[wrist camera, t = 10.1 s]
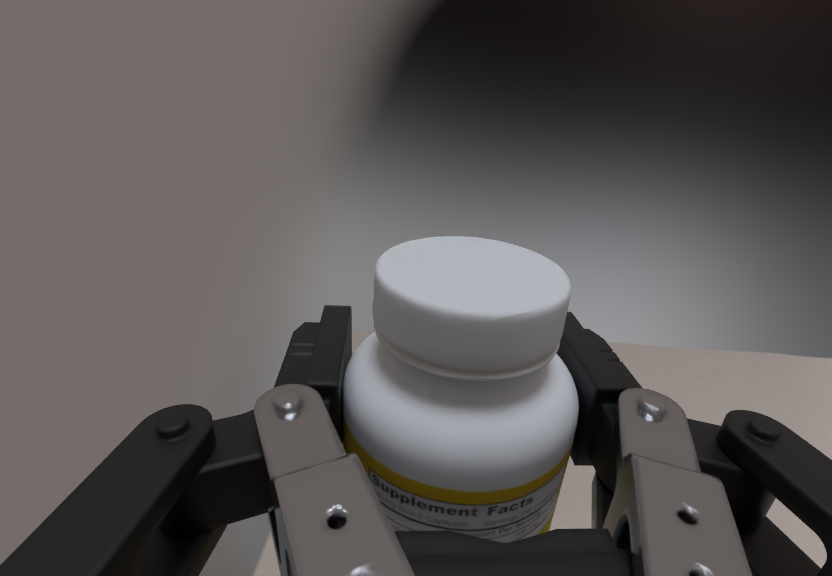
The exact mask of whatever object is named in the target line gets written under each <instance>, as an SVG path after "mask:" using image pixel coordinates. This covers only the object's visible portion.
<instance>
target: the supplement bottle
mask: <svg viewBox="0 0 832 576" xmlns="http://www.w3.org/2000/svg"><path fill="white" fill-rule="evenodd" d="M374 277H375V279H374V302H373V318H374V328H375V331H374V332H373V333H372V334H370V335H369V336H368V337H367V338H366V339H365V340H364V341H363V342H362V343H361V344H360V345H359V346H358V348H357V349H356V350H355V352H354V353H353V355H352V357H351V359H350V361H349V363H348V366H347V368H346V371H345V376H344V381H343V399H342V421H343V447H344V450H345V452H346V454H351V453H355V454H356V455H357V456H358V457H359V459H360V461H361V463H362V465H363V467H364V469H365V471H366V473H367V476H368V478H369V480H370V482H371V484H372V486H373V488H374V490H375V492H376V495H377V497H378V499H379V501H380V503H381V505H382V507H383V509H384V511H385V514H386V516H387V518H388V520H389V522H390V524H391V526H392V528H393V530H394V533H395V531H444V530H449V531H453V532H458V533H462V534H467V535H471V536H475V537H480V538H484V539H489V540H493V541H497V542H503V543H510V542H514V541H518V540H521V539H524V538H528V537H531V536H535V535H538V534H542V533H545V532H549V529H550V525H551V521H552V518H553V513H554V510H555V507H556V503H557V499H558V496H559V492H560V488H561V485H562V481H563V477H564V474H565V470H566V467H567V463H568V460H569V456H570V453H571V448H572V444H573V440H574V434H575V430H576V425H577V420H578V411H579V402H578V394H577V390H576V387H575V383H574V381H573V378H572V375H571V374H570V372H569V370H568V368H567V367H566V365H565V364H564V362H563V361H562V360H561V358H560V357H559V356H558V355H557V354H556V353H557V351H558V349H559V345H560V340H561V337H562V334H563V329H564V324H565V320H566V315H567V310H568V305H569V300H570V295H571V285H570V281H569V278H568V277H567V275H566V274H565V272H564V271H563V270H562V269H561V268H560V267H559V266H558V265H557V264H555V263H554V262H553V261H551V260H549V259H548V258H546V257H544V256H542V255H540V254H538V253H536V252H534V251H531V250H529V249H525V248H523V247H520V246H516V245H512V244H509V243H505V242H501V241H496V240H491V239H485V238H476V237H459V236H448V237H447V236H446V237H430V238H423V239H418V240H412V241H409V242H405V243H402V244H399V245H397V246H394V247H392V248H390V249H389V250H388V251H386V252H385V253H384V254H382V255H381V256H380V258H379V259H378V261H377V263H376V266H375V276H374Z"/></svg>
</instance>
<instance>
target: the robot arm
mask: <svg viewBox="0 0 832 576" xmlns="http://www.w3.org/2000/svg"><path fill="white" fill-rule="evenodd" d="M351 313H352V312H351V306H332V305H331V306H330V305H325V306H324V309H323V314H322V317H321V321H320V323H312V322H304V323H303V324H302V325H301V326H300V327H299V328H298V329H296V330H295V331H294V332H293V335H292V338H291V340H290V343H289V346H288V349H287V352H286V356H285V357H284V361H283V363H282V366H281V369H280V372H279V374H278V377H277V380H276V383H275V386H274V388H272V389H270V390H268V391H267V392H265V393H264V394H262V395H261V396H260V397H259V399H258V400H257V401H256V403H255V406H254V410H251V411H249V412H247V413H244V414H241V415H237V416H233V417H228V418H223V419H219V420H214V421H212V416H211V414H210V412H209V411H208V410H207V409H205V408H203V407H201V406H197V405H191V404H183V405H175V406H171V407H168V408H164V409H162V410H159V411H157V412H155V413H153V414H152V415H150V416H148V417H147V418H146V419H144V420H143V421H142V422H141V423H140V424H139V425H138V426H137V427H136V428H135V429H134V430H133V431H132V432H131V433H130V434H129V435H128V436H127V437H126V438H125V439H124V440H123V441H122V442H121V443H120V445H118V446H117V447H116V448H115V450H113V451H112V452H111V453H110V455H108V457H106V459H104V461H103V462H102V463H101V464H100V465H99V466H98V467H97V468H96V469H95V470H94V471H93V472H92V473H91V474H90V475H89V476H88V477H87V478H86V479H85V480H84V481H83V482H82V483H81V484H80V485H79V486H78V487H77V488H76V489H75V490H74V491H73V492H72V493H71V494H70V495H69V496H68V497H67V498H66V499H65V500H64V501H63V502H62V503H61V504H60V505H59V506H58V507H57V508H56V509H55V510H54V511H53V512H52V513H51V514H50V515H49V516H48V517H47V518H46V519H45V521H43V522H42V524H41V525H40V526H39V527H38V528H37V529H36V530H35V531H34V532H33V533H32V534H31V535H30V536H29V537H28V538H27V539H26V540H25V541H24V542H23V543H22V544H21V545H20V546H19V547H18V548H17V549H16V550H15V551H14V552H13V553H12V554H11V555H10V556H9V557H8V558H7V559H6V560H5V561H4V562H3V563H2V564H1V565H0V576H199V574H200V572H201V571H202V569H203V567H204V565H205V564H206V562H207V560H208V558H209V557H210V555H211V553H212V551H213V550H214V548H215V546H216V544H217V542H218V541H219V539H220V537H221V536H222V534H223V532H224V530H225V528H226V526H227V524H230V523H234V522H237V521H240V520H244V519H247V518H250V517H254V516H257V515H260V514H264V513H267V514H268V518H269V523H270V528H271V533H272V537H273V542H274V546H275V551H276V556H277V560H278V565H279V569H280V574H281V576H832V460H831V459H830V458H828V457H827V456H825V455H824V454H823V453H821V452H820V451H819V450H817V449H816V448H815V447H813V446H812V445H811V444H809V443H808V442H806V441H805V440H804V439H802V438H801V437H800V436H798V435H797V434H796V433H794V432H793V431H791V430H790V429H789V428H787V427H786V426H784V425H783V424H781V423H780V422H778V421H776V420H774V419H772V418H770V417H768V416H765V415H762V414H759V413H756V412H752V411H747V410H734V411H731V412H729V413H728V414H727V415H726V417H725V419H724V421H723V423H722V425H721V426H718V425H714V424H709V423H705V422H700V421H696V420H691V419H688V418H686V415H685V413H684V411H683V409H682V408H681V407H680V406H679V405H678V404H677V403H676V402H674V401H673V400H672V399H670V398H668V397H667V396H665V395H663V394H661V393H658V392H655V391H652V390H649V389H643V388H642V387H641V386H640V384H639V383H638V382H637V381H636V379H635V378H634V377H633V375H632V374H631V373H630V372H629V370H628V369H627V368H626V367H625V365H624V364H623V363H622V362H620V359H619V358H618V357H617V355H616V354H615V353H614V352H612V349H611V348H610V346H609V345H608V344H607V343H606V341H605V340H604V339H603V338H601V337H600V336H599V335H597V334H596V333H594V332H593V331H591V330H590V329H584V328H583V327H582V326H581V325H580V323H579V322H578V320H577V319H576V318H575V316H574V315H573V314H572V313H571V312H567V315H566V320H565V324H564V329H563V334H562V337H561V340H560V345H559V349H558V351H557V353H556V354H557V355H558V356H559V357H560V358H561V360H562V361H563V362H564V364H565V365H566V367H567V368H568V370H569V372H570V374H571V375H572V378H573V381H574V383H575V387H576V390H577V394H578V402H579V411H578V420H577V425H576V430H575V434H574V440H573V444H572V448H571V453H570V456H571V458H572V460H573V462H574V464H575V465H593V466H594V468H595V470H596V472H595V475H594V478H593V481H592V529H555V530H552V531H549V532H545V533H542V534H538V535H535V536H531V537H528V538H524V539H521V540H518V541H514V542H510V543H503V542H497V541H493V540H489V539H484V538H480V537H475V536H471V535H467V534H462V533H458V532H453V531H449V530H444V531H395V533H394V530H393V528H392V526H391V524H390V522H389V520H388V518H387V516H386V514H385V511H384V509H383V507H382V505H381V503H380V501H379V499H378V497H377V495H376V492H375V490H374V488H373V486H372V484H371V482H370V480H369V478H368V476H367V473H366V471H365V469H364V467H363V465H362V463H361V461H360V459H359V457H358V456H357V455H356V454H355V453H351V454H346V452H345V450H344V447H343V445H342V444H343V421H342V399H343V381H344V376H345V371H346V368H347V366H348V363H349V361H350V359H351V357H352V321H351V320H352V317H351V316H352V314H351ZM775 498H777V499H778V500H779V501H780V502H782V503H783V504H784V505H785V506H786V507H787V508H788V509H789V510H791V511H792V512H793V513H794V514H795V515H796V516H797V517H798V518H799V519H801V520H802V521H803V522H804V523H805V524H806V525H807V526H808V527H810V528H811V529H812V530H813V531H814V532H815V533H816V534H817V535H818V536H819V538H820V539H821V541H822V542H823V544H824V546H825V549H826V552H827V560H826V563H825V564H824V566H823V567H822V569H821V568H820V567H819V566H818V565H817V564H815V563H814V562H813V561H812V560H811V559H810V558H809V557H808V556H807V555H806V554H805V553H804V552H803V551H802V550H801V549H800V548H799V547H798V546H797V545H796V544H794V543H793V542H792V541H791V540H790V539H789V538H788V537H787V536H786V535H785V534H784V533H783V532H782V531H781V530H780V529H779V528H778V527H777V526H776V525H775V524H773V523H772V522H771V521H770V520H769V519H768V518H767V517H766V514H767V512H768V510H769V509H770V507H771V505H772V503H773V502H774V500H775Z"/></svg>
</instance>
